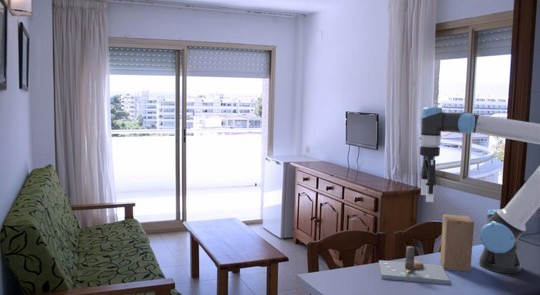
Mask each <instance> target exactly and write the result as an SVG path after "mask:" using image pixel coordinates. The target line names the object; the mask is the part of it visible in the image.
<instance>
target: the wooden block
mask: <svg viewBox="0 0 540 295" xmlns="http://www.w3.org/2000/svg"><path fill="white" fill-rule="evenodd" d="M441 226H442V227H441V241H440V243H441V244H440V254H439V255H440V258H439V261H440V265H442V267H443V269H444V271H445V270H449V271H457V272H471V270H472V269H471V267H472V258H473V257H472V255H473V254H472V253H473V240H474V226H475V221H473V220H472V218H470V216H468V215H462V214H461V215H460V214H459V215H458V214H446V213H445V214H442V225H441Z"/></svg>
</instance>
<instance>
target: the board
mask: <svg viewBox="0 0 540 295" xmlns="http://www.w3.org/2000/svg"><path fill="white" fill-rule="evenodd" d="M378 265H379V272H380V278H381V279H383V280H396V281H405V282H420V283H429V284H440V285H441V284H443V285H450V283H451V282H450V278H449V276H448V275H447V273H446V271H445V269H444V268H443V266H442V264H433V263H432V264H430V263H423V268H421V269H413V270H412V272H411V273H410V272H409V273H408V274H405V269H406V268H405V261H393V260H392V261H391V260H383V259H381V260H378Z"/></svg>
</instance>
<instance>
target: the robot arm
mask: <svg viewBox="0 0 540 295" xmlns="http://www.w3.org/2000/svg"><path fill="white" fill-rule="evenodd" d="M420 120H421V128H420V129H421V130H420V136H421V137H419V138H418V139H419V140H420V145H421V146H419V155H420V156H422V157H423V158H422V167H421V172H420V173H421V175H420V177H421V182H420V183H421V188H420V195H421V196H425V202H426V203H434V201H435V200H434V198H435V186H436V184H437V183H436V181H437V180H436V160H435V159H434V158H435V157H439V156H440V153H441V152H440V151H441V147H440V146H441V142H442V140H441V138H442V137H441V134H442V132H445V133H459V134H460V133H461V134H472V133H473V134H480V135H485V136H490V137H495V138H501V139H506V140H507V139H508V140H514V141H519V142H524V143H530V144H534V145H535V144H536V145H540V123H537V122H528V121H522V120H516V119H511V118H510V119H509V118H501V117H496V116H491V115H483V114H477V113H476V114H475V113H471V112H468V111H467V112H466V111H464V112H443V108H442V107H439V106H438V107H437V106H435V107H434V106H426V107H423V108H422V115H421V119H420ZM539 208H540V165H539V166H538V167H537V168H536V170H535V171H534V172H533V173H532V174H531V175H530V177H529V178H528V179H527V180H526V182H525V183H524V184H522V186H521V187H520V189H519V190H518V191H517V192H516V193H515V195H514V196H513V197H512V198H511V199H510V201H508V203H507V204H506V206H505V207H504V208H499V209H495V208H494V209H489V210H487V214H486V222H485V223H484V225H483V226H482V227H481V229H480V232H479V241H480V243H481V244H482V245H483V250H482V251H481V254H480V256H479V260H478V264H479V266H480V267H482V269H483V268H484V269H486V270H489V271H492V272H496V273H501V274H503V273H504V274H517V273H519V272H521V269H522V263H521V260H520V256H519V252H518V243H519V238H520V237H521V236H522V235H523V234H524V232H525V231H526V230H527V228H526V223H527V222H528V221H529V220H530V219H531V218H532V217H533V215H534V214H535V213H536V212H537V211H538V209H539Z"/></svg>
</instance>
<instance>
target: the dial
mask: <svg viewBox="0 0 540 295" xmlns="http://www.w3.org/2000/svg"><path fill="white" fill-rule="evenodd" d="M405 251H406V252H405V261H404V262H405V268H406V269H405V274H408V273H409V272H410V273H411V272H412V270H413V269H421V268H423V264H424V263H423V262H422V261H419V260H415V255H416V254H415V253H416V252H415V251H416V248H415V247H414V246H412V245H407V246H406V250H405Z"/></svg>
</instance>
